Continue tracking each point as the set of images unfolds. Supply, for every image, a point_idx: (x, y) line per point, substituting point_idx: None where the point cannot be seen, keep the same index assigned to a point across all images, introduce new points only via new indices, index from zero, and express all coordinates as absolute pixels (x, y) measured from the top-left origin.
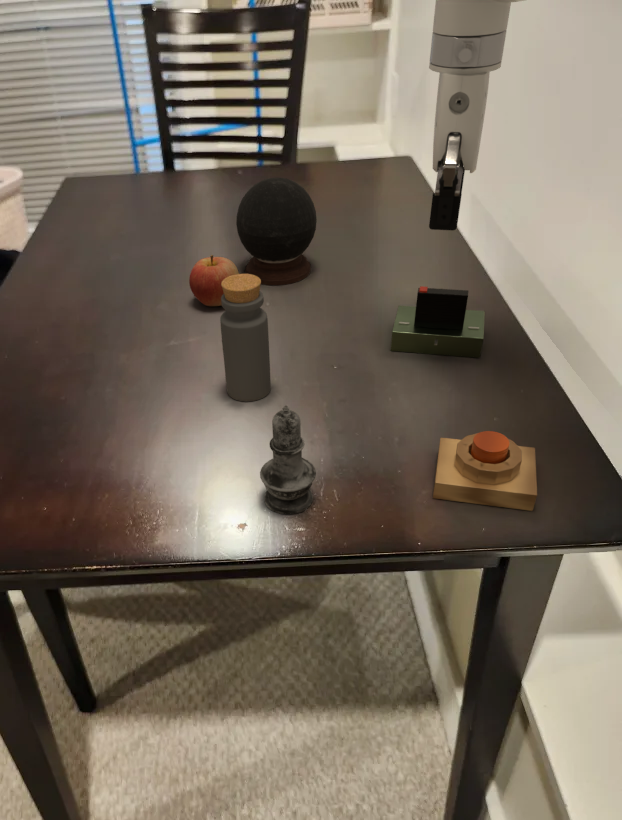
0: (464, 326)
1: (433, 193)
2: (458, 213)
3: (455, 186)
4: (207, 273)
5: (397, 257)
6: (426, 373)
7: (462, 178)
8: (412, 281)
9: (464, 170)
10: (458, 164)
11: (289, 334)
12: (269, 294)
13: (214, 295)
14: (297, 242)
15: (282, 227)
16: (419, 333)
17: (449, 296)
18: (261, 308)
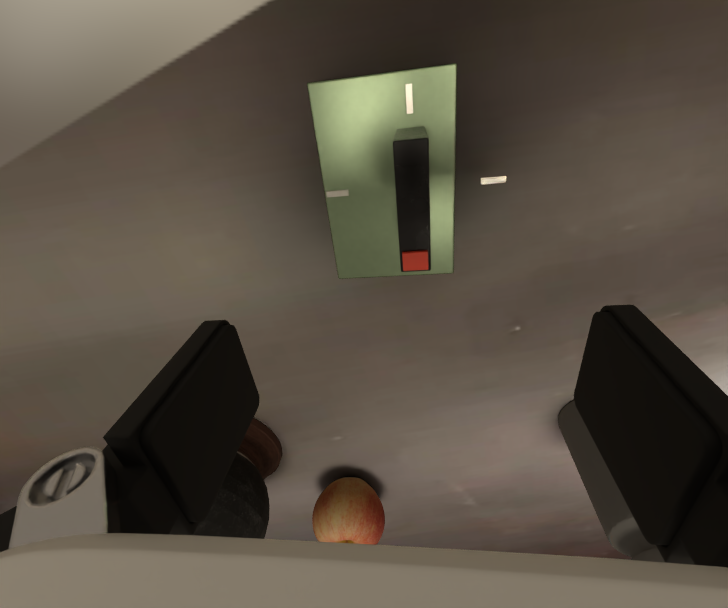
0: (403, 124)
1: (678, 563)
2: (682, 354)
3: (212, 387)
4: (374, 541)
5: (89, 302)
6: (528, 175)
7: (178, 395)
8: (166, 262)
9: (140, 427)
10: (132, 489)
11: (421, 400)
12: (308, 441)
13: (380, 506)
14: (235, 476)
15: (243, 521)
16: (453, 221)
17: (429, 190)
18: (635, 524)
